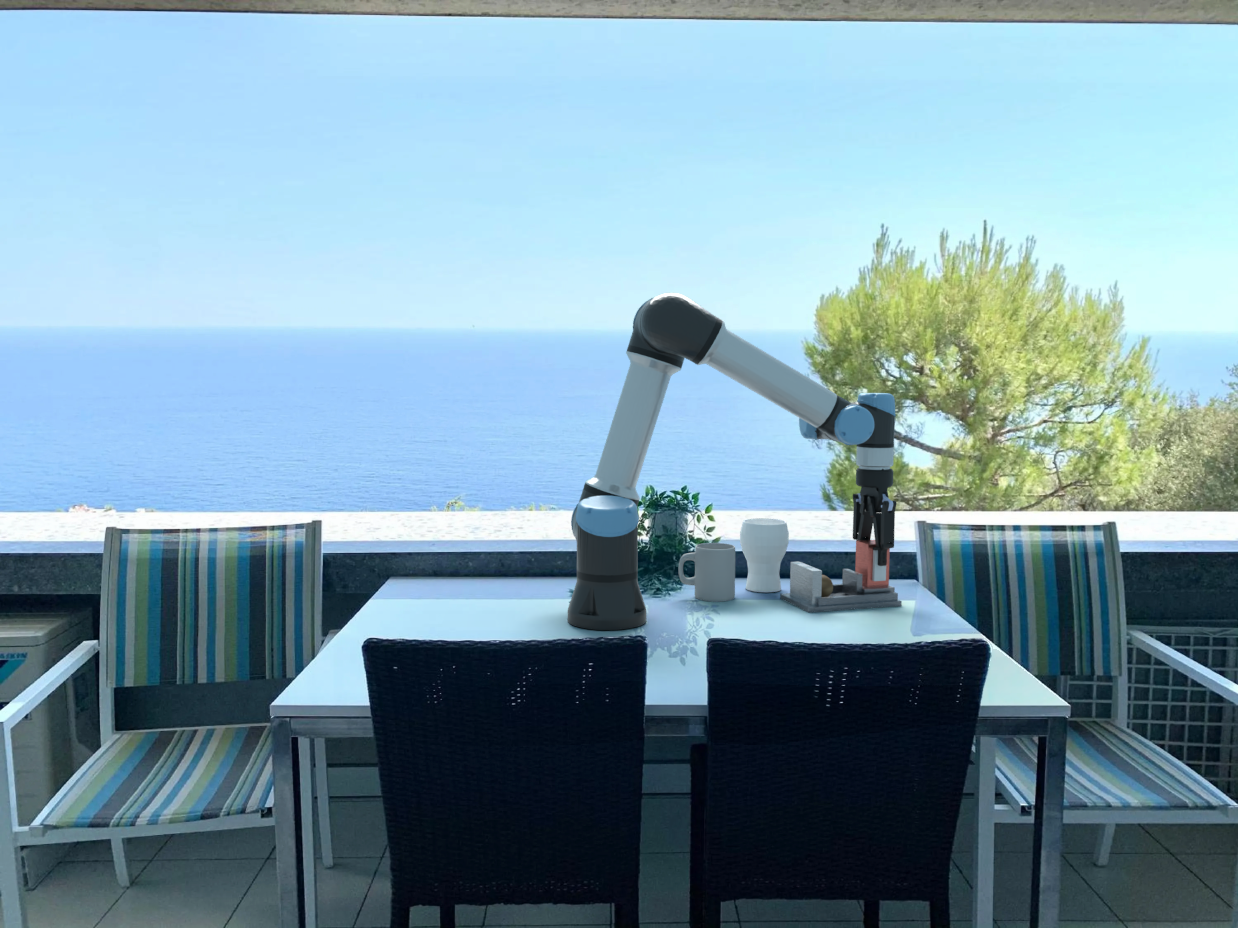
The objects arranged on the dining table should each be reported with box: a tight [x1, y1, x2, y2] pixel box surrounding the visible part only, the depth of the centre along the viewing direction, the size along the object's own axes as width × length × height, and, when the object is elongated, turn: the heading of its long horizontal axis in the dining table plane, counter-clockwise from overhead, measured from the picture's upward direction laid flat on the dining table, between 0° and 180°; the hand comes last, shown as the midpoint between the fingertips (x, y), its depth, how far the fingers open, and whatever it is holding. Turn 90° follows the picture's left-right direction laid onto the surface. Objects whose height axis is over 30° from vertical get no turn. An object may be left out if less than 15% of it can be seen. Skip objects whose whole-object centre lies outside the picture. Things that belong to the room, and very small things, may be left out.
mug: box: [677, 542, 736, 603], centre depth 217 cm, size 12×8×11 cm
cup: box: [739, 517, 790, 593], centre depth 225 cm, size 11×11×15 cm
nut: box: [821, 574, 834, 597], centre depth 212 cm, size 5×5×5 cm
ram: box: [841, 539, 896, 595], centre depth 214 cm, size 8×8×11 cm
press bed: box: [779, 561, 903, 613], centre depth 213 cm, size 21×13×8 cm, turn 107°
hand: (871, 577), depth 215 cm, fingers closed on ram, 5 cm apart
